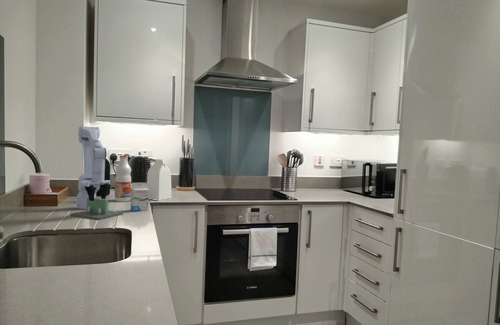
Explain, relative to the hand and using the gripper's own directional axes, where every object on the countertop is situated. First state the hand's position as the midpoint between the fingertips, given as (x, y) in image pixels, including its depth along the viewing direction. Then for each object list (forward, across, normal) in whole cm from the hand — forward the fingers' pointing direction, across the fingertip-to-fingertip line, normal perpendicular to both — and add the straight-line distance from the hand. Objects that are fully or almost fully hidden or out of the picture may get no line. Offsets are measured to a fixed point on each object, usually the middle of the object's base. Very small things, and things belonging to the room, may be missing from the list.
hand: (97, 199), depth 181 cm
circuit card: (+6, 0, 0) cm, 7 cm away
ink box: (+8, +22, -8) cm, 25 cm away
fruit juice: (+8, +42, +21) cm, 48 cm away
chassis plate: (+8, 0, 0) cm, 8 cm away
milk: (+8, +61, +8) cm, 62 cm away
